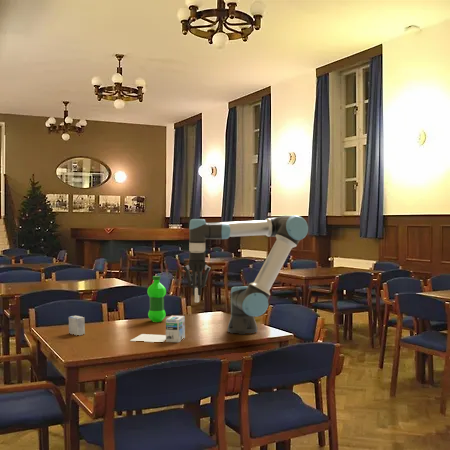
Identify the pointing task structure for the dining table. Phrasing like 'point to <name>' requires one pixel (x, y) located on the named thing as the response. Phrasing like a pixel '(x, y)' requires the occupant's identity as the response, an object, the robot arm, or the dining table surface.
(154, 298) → the plastic bottle
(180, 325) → the light bulb box
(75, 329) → the medicine box
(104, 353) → the dining table surface
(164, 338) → the mat
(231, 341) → the dining table surface
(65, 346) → the dining table surface
